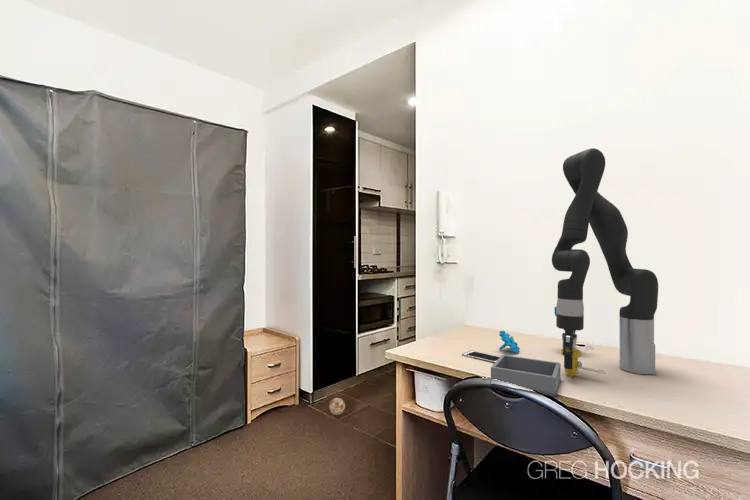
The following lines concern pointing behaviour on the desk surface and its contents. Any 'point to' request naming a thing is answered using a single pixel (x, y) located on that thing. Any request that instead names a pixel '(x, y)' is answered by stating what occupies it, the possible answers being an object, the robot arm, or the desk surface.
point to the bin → (528, 373)
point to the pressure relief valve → (578, 364)
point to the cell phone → (482, 356)
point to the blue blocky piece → (509, 342)
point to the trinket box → (337, 406)
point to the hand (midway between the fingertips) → (569, 365)
